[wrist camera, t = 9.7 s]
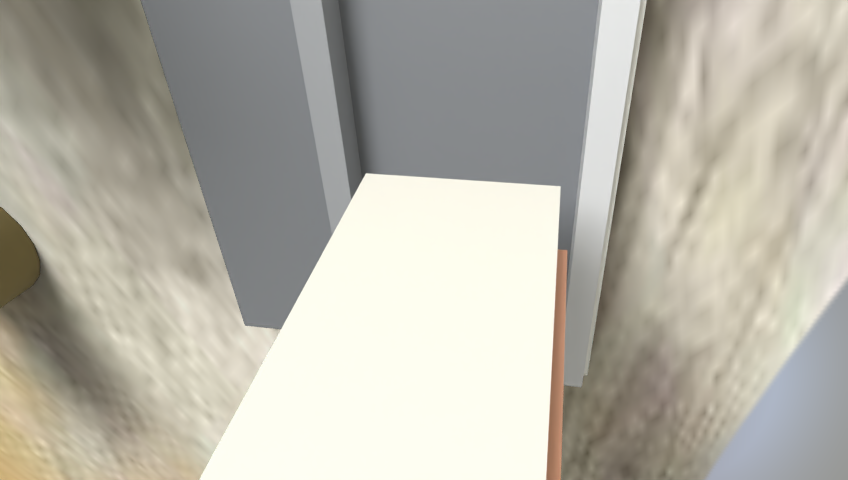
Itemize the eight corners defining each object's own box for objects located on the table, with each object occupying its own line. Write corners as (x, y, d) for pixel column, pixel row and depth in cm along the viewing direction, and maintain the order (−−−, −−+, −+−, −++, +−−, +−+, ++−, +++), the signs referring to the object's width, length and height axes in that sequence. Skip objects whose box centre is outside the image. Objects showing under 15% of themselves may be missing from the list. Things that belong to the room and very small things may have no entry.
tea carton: (570, 187, 12) (556, 767, 5) (544, 412, 16) (517, 900, 9) (365, 173, 13) (102, 657, 6) (391, 391, 17) (257, 825, 10)
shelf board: (586, 331, 23) (587, 388, 21) (260, 300, 25) (231, 347, 23) (647, -85, 15) (660, -61, 12) (152, -72, 17) (92, -51, 15)
